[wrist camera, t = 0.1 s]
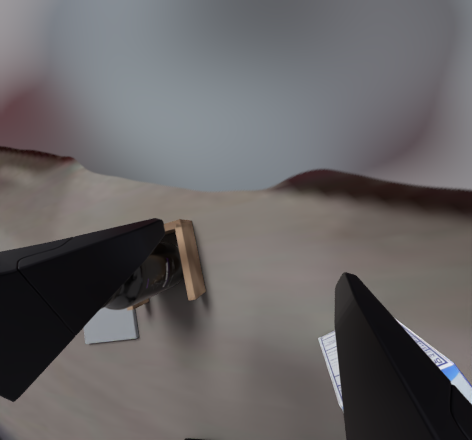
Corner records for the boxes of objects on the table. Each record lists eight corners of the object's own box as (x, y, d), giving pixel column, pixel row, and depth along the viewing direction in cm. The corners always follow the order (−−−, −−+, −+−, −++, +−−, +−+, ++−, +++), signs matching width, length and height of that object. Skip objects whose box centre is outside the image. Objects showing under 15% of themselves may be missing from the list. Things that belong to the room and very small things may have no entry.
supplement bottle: (194, 275, 25) (118, 312, 14) (159, 293, 26) (63, 341, 15) (176, 234, 26) (92, 235, 15) (143, 253, 28) (43, 269, 16)
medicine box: (340, 373, 19) (382, 480, 11) (316, 335, 20) (338, 408, 12) (409, 344, 18) (519, 442, 10) (380, 305, 19) (456, 363, 11)
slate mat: (139, 336, 27) (136, 338, 26) (88, 342, 30) (85, 343, 29) (124, 237, 29) (121, 237, 29) (78, 251, 32) (75, 251, 31)
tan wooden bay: (205, 291, 24) (195, 299, 22) (144, 302, 27) (127, 310, 24) (191, 220, 26) (179, 219, 23) (134, 237, 28) (117, 238, 26)
